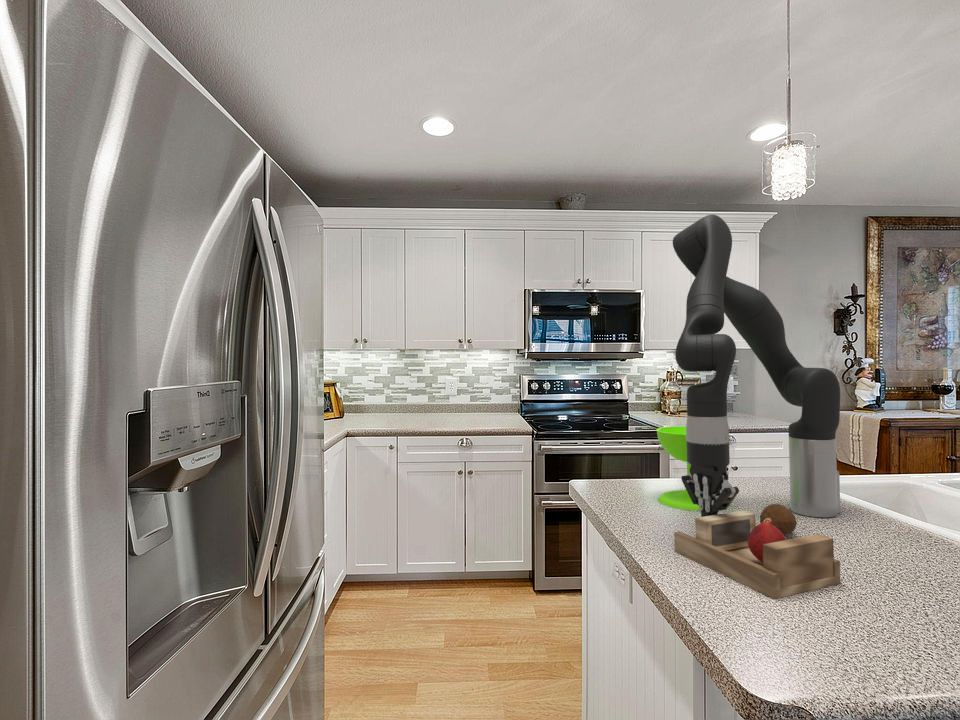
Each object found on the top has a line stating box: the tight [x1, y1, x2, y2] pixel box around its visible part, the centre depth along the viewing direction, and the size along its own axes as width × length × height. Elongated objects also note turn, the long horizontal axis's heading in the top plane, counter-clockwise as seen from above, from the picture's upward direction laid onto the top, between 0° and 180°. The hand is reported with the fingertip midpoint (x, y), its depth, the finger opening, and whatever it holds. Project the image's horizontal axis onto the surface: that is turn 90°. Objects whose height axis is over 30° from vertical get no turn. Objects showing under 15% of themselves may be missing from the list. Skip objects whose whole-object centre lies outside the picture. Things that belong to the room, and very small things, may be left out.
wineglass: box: [656, 425, 700, 511], centre depth 135 cm, size 16×16×18 cm
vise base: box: [673, 530, 841, 600], centre depth 93 cm, size 14×22×7 cm, turn 20°
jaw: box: [694, 509, 757, 551], centre depth 98 cm, size 12×2×6 cm, turn 110°
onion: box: [748, 518, 787, 563], centre depth 90 cm, size 6×6×8 cm
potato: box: [759, 503, 798, 537], centre depth 109 cm, size 7×10×6 cm
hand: (709, 530), depth 102 cm, fingers closed
